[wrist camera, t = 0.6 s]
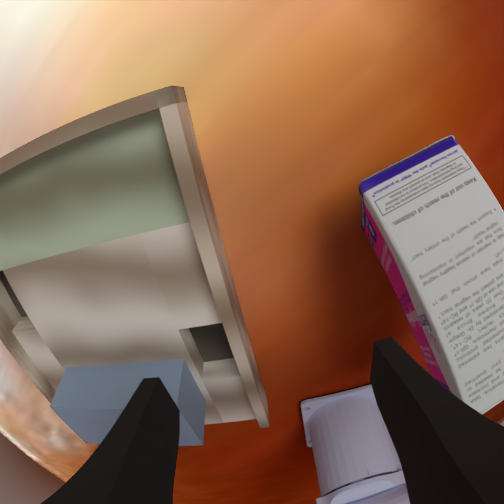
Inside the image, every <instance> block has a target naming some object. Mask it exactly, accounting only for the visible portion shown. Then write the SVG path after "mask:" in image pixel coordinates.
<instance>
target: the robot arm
mask: <svg viewBox="0 0 504 504" xmlns="http://www.w3.org/2000/svg"><path fill="white" fill-rule="evenodd" d="M370 382H371V384H370V385H366V386H363V387H359V388H355V389H351V390H347V391H343V392H339V393H335V394H330V395H326V396H322V397H317V398H312V399H307V400H304V401H302V402H301V404H300V405H301V411H302V417H303V423H304V430H305V436H306V443H307V446H308V447H312V448H313V454H314V459H315V465H316V470H317V475H318V481H319V487H320V492H321V497H320V498H317V499H316V503H317V504H504V427H503V426H502V425H500V424H498V423H496V422H494V421H492V420H490V419H489V418H487V417H486V416H484V415H482V414H481V413H479V412H478V411H476V410H475V409H473V408H472V407H470V406H469V405H467V404H466V403H465V402H463V401H462V400H460V399H459V398H458V397H456V396H455V395H454V394H453V393H451V392H450V391H449V390H448V389H446V388H445V387H444V386H443V385H442V384H441V383H439V382H438V381H437V380H436V379H435V378H434V377H433V376H431V375H430V374H429V373H428V372H427V371H426V370H425V369H424V368H423V367H422V366H420V365H419V364H418V363H417V362H416V361H415V360H414V359H413V358H412V357H411V356H410V355H409V354H408V353H407V352H406V351H405V350H404V349H403V348H402V347H401V346H400V345H399V344H398V343H397V342H396V341H395V340H394V339H393V338H391V337H390V338H386V339H383V340H379V341H375V342H374V348H373V358H372V367H371V375H370ZM179 437H180V410H179V409H178V407H177V405H176V404H175V402H174V401H173V399H172V397H171V396H170V394H169V392H168V391H167V389H166V387H165V386H164V384H163V382H162V381H161V379H160V377H154V378H143V380H142V381H141V383H140V384H139V386H138V388H137V389H136V391H135V392H134V394H133V395H132V397H131V399H130V400H129V402H128V403H127V405H126V407H125V408H124V410H123V411H122V413H121V414H120V416H119V417H118V419H117V420H116V422H115V424H114V425H113V427H112V428H111V430H110V431H109V432H108V434H107V435H106V437H105V438H104V439H103V441H102V442H101V444H100V445H99V446H98V448H97V449H96V450H95V452H94V453H93V454H92V455H91V457H90V458H89V459H88V460H87V461H86V462H85V464H84V465H83V466H82V467H81V468H80V469H79V470H78V471H77V472H76V473H75V474H74V475H73V476H72V477H71V478H70V479H69V480H68V481H67V482H66V483H65V484H64V485H63V486H62V487H61V488H60V489H59V490H58V491H56V492H55V493H54V494H53V495H52V496H50V497H49V498H48V499H46V500H45V501H44V502H42V503H41V504H173V485H174V476H175V468H176V461H177V453H178V445H179Z"/></svg>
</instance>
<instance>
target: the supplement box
mask: <svg viewBox="0 0 504 504" xmlns="http://www.w3.org/2000/svg"><path fill="white" fill-rule="evenodd" d="M359 192H360V196H361V207H362V221H361V223H362V224H361V226H362V229H363V231H364V232H365V234H366V236H367V238H368V240H369V242H370V243H371V245H372V247H373V249H374V251H375V253H376V255H377V257H378V259H379V261H380V263H381V265H382V267H383V269H384V271H385V273H386V275H387V277H388V279H389V281H390V283H391V285H392V287H393V289H394V291H395V293H396V295H397V297H398V299H399V302H400V304H401V306H402V308H403V310H404V313H405V315H406V317H407V319H408V321H409V323H410V326H411V328H412V330H413V333H414V335H415V337H416V340H417V342H418V344H419V347H420V349H421V351H422V354H423V356H424V359H425V361H426V364H427V366H428V369H429V371H430V374H431V376H433V377H434V378H435V379H436V380H437V381H438V382H439V383H441V384H442V385H443V386H444V387H445V388H446V389H448V390H449V391H450V392H451V393H453V394H454V395H455V396H456V397H458V398H459V399H460V400H462V401H463V402H465V403H466V404H467V405H469V406H470V407H472V408H473V409H475V410H476V411H478V412H479V413H481V414H483V413H485V412H487V411H488V410H489V409H491V408H492V407H494V406H495V405H497V404H498V403H500V402H501V401H502V400H504V211H503V209H502V208H501V206H500V204H499V203H498V201H497V199H496V198H495V196H494V195H493V193H492V191H491V190H490V188H489V187H488V185H487V183H486V182H485V180H484V179H483V178H482V176H481V175H480V173H479V172H478V170H477V169H476V167H475V166H474V164H473V163H472V162H471V160H470V159H469V157H468V156H467V154H466V153H465V152H464V150H463V149H462V148H461V146H460V145H459V144H458V143H457V141H456V139H455V138H454V136H453V135H449V136H447V137H445V138H443V139H441V140H439V141H437V142H435V143H433V144H431V145H429V146H428V147H426V148H424V149H422V150H420V151H418V152H416V153H414V154H413V155H411V156H409V157H406V158H404V159H403V160H401V161H399V162H397V163H395V164H393V165H391V166H389V167H387V168H385V169H383V170H381V171H379V172H377V173H375V174H373V175H371V176H370V177H368V178H366V179H364V180H363V181H361V182H360V184H359Z"/></svg>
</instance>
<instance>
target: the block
mask: <svg viewBox="0 0 504 504" xmlns="http://www.w3.org/2000/svg"><path fill="white" fill-rule="evenodd" d="M154 377H160V379H161V381H162V382H163V384H164V386H165V387H166V389H167V391H168V392H169V394H170V396H171V397H172V399H173V401H174V402H175V404H176V405H177V407H178V409H179V410H180V437H179V445H178V446H195V445H203V443H204V424H205V407H206V400H205V398H204V397H203V395H202V393H201V391H200V389H199V387H198V385H197V383H196V381H195V379H194V378H193V376H192V374H191V372H190V370H189V368H188V366H187V364H186V362H185V360H184V358H181V359H172V360H163V361H153V362H143V363H131V364H118V365H103V366H84V367H67V368H66V370H65V372H64V375H63V377H62V379H61V381H60V384H59V386H58V388H57V390H56V393H55V395H54V397H53V400H52V402H51V405H50V407H51V408H52V409H53V410H54V411H55V412H56V414H57V415H58V416H59V417H60V418H61V419H62V420H63V421H64V422H65V423H66V424H67V425H68V426H69V427H70V428H71V429H72V430H73V431H74V432H75V433H76V434H77V435H78V436H79V437H80V438H82V439H83V440H84V441H85V442H86V443H94V444H101V442H102V441H103V439H104V438H105V437H106V435H107V434H108V432H109V431H110V430H111V428H112V427H113V425H114V424H115V422H116V420H117V419H118V417H119V416H120V414H121V413H122V411H123V410H124V408H125V407H126V405H127V403H128V402H129V400H130V399H131V397H132V395H133V394H134V392H135V391H136V389H137V388H138V386H139V384H140V383H141V381H142V380H143V378H154Z"/></svg>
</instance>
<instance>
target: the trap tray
mask: <svg viewBox="0 0 504 504" xmlns="http://www.w3.org/2000/svg"><path fill="white" fill-rule="evenodd" d="M0 339H1V341H2V342H3V344H4V345H5V346H6V348H7V349H8V351H9V352H10V353H11V355H12V356H13V357H14V359H15V360H16V362H17V363H18V364H19V365H20V367H21V368H22V369H23V371H24V372H25V373H26V374H27V376H28V377H29V378H30V379H31V381H32V382H33V383H34V384H35V386H36V387H37V388H38V389H39V390H40V391H41V393H42V394H43V395H44V396H45V397H46V398H47V400H48V401H49V402H50V403H51V402H52V400H53V397H54V395H55V393H56V390H57V388H58V386H59V384H60V381H61V379H62V377H63V375H64V372H65V370H66V368H67V367H84V366H103V365H118V364H131V363H143V362H153V361H163V360H172V359H181V358H184V360H185V362H186V364H187V366H188V368H189V370H190V372H191V374H192V376H193V378H194V379H195V381H196V383H197V385H198V387H199V389H200V391H201V393H202V395H203V397H204V398H205V400H206V407H205V424H216V423H226V422H235V421H243V420H251V419H257V421H258V423H259V426H260V428H265V427H270V425H269V415H268V405H267V397H266V394H265V391H264V387H263V384H262V381H261V377H260V374H259V371H258V367H257V364H256V360H255V357H254V354H253V350H252V347H251V343H250V340H249V336H248V333H247V329H246V326H245V322H244V319H243V315H242V312H241V308H240V305H239V301H238V297H237V294H236V290H235V287H234V283H233V279H232V276H231V272H230V268H229V265H228V261H227V257H226V254H225V250H224V246H223V242H222V239H221V235H220V231H219V227H218V224H217V220H216V216H215V212H214V208H213V204H212V201H211V197H210V193H209V189H208V185H207V181H206V177H205V173H204V169H203V165H202V161H201V157H200V153H199V149H198V145H197V141H196V137H195V133H194V129H193V125H192V121H191V116H190V112H189V108H188V104H187V100H186V95H185V91H184V87H178V86H169V87H165V88H162V89H159V90H156V91H152V92H149V93H146V94H143V95H140V96H137V97H134V98H131V99H128V100H125V101H122V102H120V103H117V104H114V105H112V106H109V107H106V108H104V109H101V110H99V111H96V112H94V113H91V114H89V115H86V116H84V117H82V118H79V119H77V120H75V121H72V122H70V123H68V124H66V125H63V126H61V127H59V128H57V129H55V130H53V131H51V132H48V133H46V134H44V135H42V136H40V137H38V138H36V139H34V140H32V141H31V142H29V143H27V144H25V145H23V146H21V147H19V148H17V149H16V150H14V151H12V152H10V153H8V154H7V155H5V156H3V157H2V158H0Z"/></svg>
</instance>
